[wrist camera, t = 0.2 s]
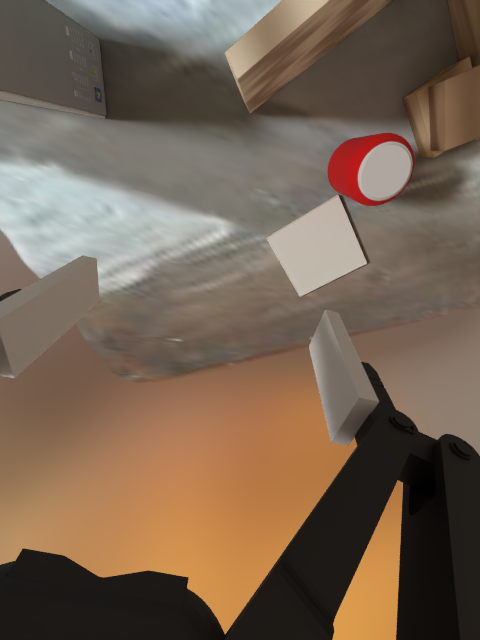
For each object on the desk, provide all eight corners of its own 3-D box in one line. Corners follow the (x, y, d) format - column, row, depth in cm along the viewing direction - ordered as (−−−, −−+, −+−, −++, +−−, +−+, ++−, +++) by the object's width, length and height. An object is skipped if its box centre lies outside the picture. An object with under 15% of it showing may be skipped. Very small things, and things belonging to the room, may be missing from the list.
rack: (309, 233, 40) (337, 284, 25) (243, 100, 33) (224, 52, 17) (488, 131, 32) (690, 111, 17) (454, -73, 25) (756, -433, 10)
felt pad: (266, 237, 41) (266, 238, 40) (337, 194, 37) (338, 195, 36) (299, 295, 45) (299, 296, 45) (365, 262, 41) (367, 263, 41)
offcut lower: (419, 157, 34) (434, 157, 31) (401, 98, 32) (416, 93, 29) (463, 130, 33) (483, 128, 30) (449, 66, 30) (469, 56, 27)
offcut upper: (430, 150, 31) (445, 150, 28) (428, 87, 28) (444, 80, 26) (470, 135, 30) (489, 133, 28) (472, 67, 27) (494, 58, 25)
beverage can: (374, 131, 33) (424, 121, 23) (376, 186, 36) (420, 198, 26) (323, 147, 34) (348, 144, 24) (328, 199, 37) (353, 216, 27)
